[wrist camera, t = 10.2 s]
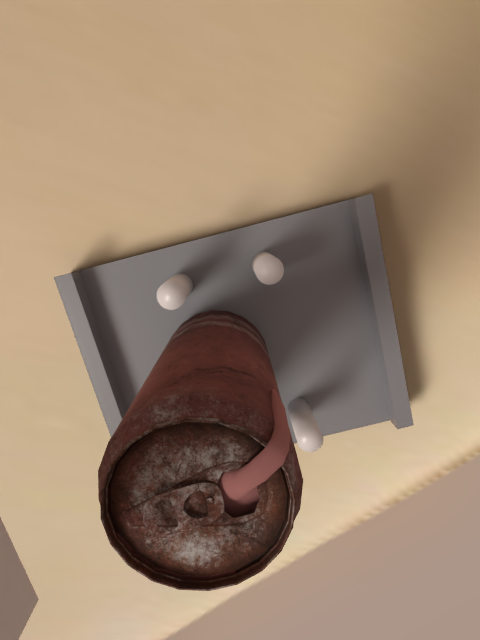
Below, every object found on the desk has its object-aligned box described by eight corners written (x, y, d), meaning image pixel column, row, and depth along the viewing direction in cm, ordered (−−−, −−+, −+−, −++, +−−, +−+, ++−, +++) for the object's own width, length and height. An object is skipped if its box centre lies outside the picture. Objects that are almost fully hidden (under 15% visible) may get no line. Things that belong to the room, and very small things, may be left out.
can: (290, 348, 25) (361, 494, 11) (223, 421, 26) (211, 639, 12) (214, 284, 24) (187, 356, 10) (148, 362, 25) (41, 524, 11)
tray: (69, 273, 24) (28, 283, 20) (359, 196, 24) (392, 187, 19) (139, 472, 27) (118, 524, 23) (398, 409, 27) (436, 449, 22)
